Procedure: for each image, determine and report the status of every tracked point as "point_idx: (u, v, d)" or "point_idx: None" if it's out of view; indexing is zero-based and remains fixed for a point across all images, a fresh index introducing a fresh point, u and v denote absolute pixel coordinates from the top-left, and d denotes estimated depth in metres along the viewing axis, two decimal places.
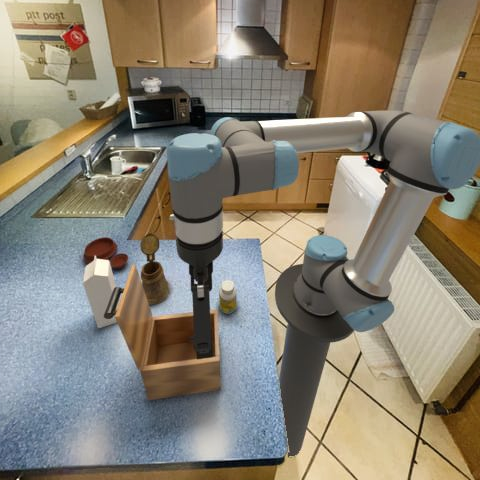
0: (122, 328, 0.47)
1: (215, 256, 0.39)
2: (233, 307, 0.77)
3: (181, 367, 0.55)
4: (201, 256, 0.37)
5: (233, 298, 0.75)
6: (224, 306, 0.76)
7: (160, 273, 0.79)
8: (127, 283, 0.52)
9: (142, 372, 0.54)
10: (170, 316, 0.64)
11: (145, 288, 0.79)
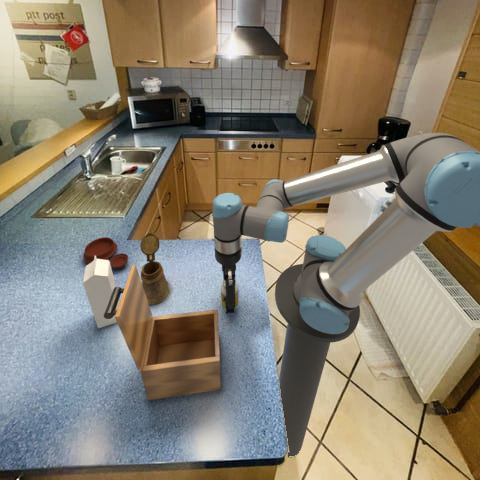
0: (122, 328, 0.47)
1: (237, 260, 0.68)
2: (235, 304, 0.76)
3: (181, 367, 0.55)
4: (230, 260, 0.67)
5: (235, 294, 0.75)
6: None
7: (160, 273, 0.79)
8: (127, 283, 0.52)
9: (142, 372, 0.54)
10: (170, 316, 0.64)
11: (145, 288, 0.79)
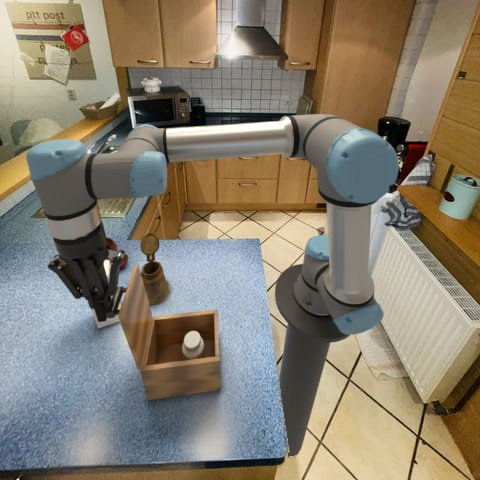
0: (124, 328, 0.47)
1: None
2: None
3: (181, 367, 0.55)
4: None
5: (199, 356, 0.60)
6: None
7: (160, 273, 0.79)
8: (130, 283, 0.52)
9: (142, 372, 0.54)
10: (170, 316, 0.64)
11: (145, 288, 0.79)
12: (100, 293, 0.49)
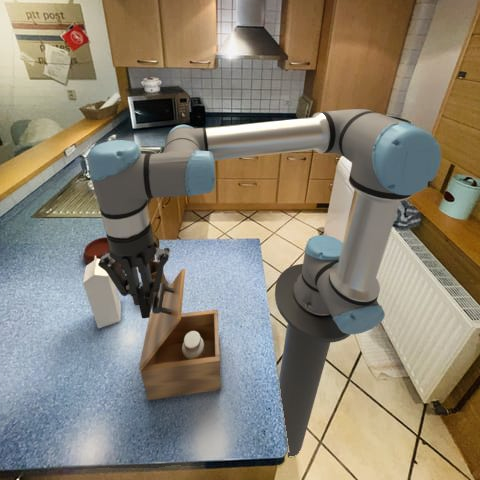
0: (171, 330, 0.49)
1: (110, 249, 0.44)
2: None
3: (181, 367, 0.55)
4: None
5: (199, 356, 0.60)
6: None
7: None
8: (181, 286, 0.54)
9: (142, 372, 0.54)
10: None
11: None
12: (146, 290, 0.50)
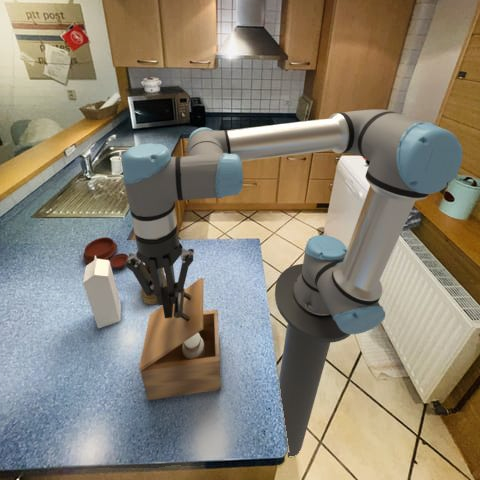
0: (189, 337, 0.51)
1: (139, 250, 0.45)
2: None
3: (181, 367, 0.55)
4: None
5: (199, 356, 0.60)
6: None
7: None
8: (202, 296, 0.56)
9: (142, 372, 0.54)
10: None
11: None
12: (170, 290, 0.51)
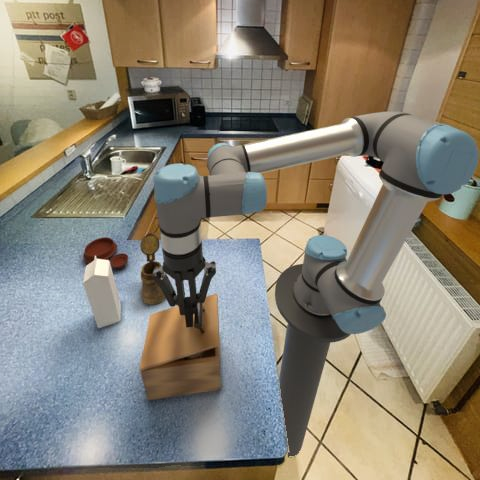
0: (204, 350, 0.53)
1: (166, 264, 0.47)
2: None
3: (181, 367, 0.55)
4: None
5: (199, 356, 0.60)
6: None
7: None
8: (217, 312, 0.59)
9: (142, 372, 0.54)
10: None
11: (145, 288, 0.79)
12: (192, 301, 0.53)
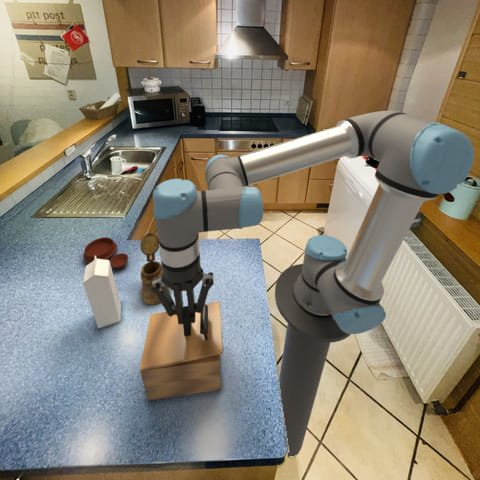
0: (206, 356, 0.54)
1: (165, 276, 0.48)
2: None
3: (181, 367, 0.55)
4: None
5: None
6: None
7: (160, 273, 0.79)
8: (220, 320, 0.61)
9: (142, 372, 0.54)
10: None
11: (145, 288, 0.79)
12: (191, 311, 0.55)
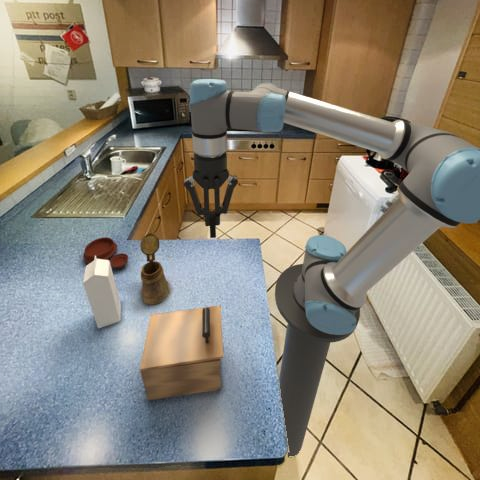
0: (207, 360, 0.55)
1: (197, 168, 0.55)
2: None
3: (181, 367, 0.55)
4: None
5: None
6: None
7: (160, 273, 0.79)
8: (221, 324, 0.61)
9: (142, 372, 0.54)
10: None
11: (145, 288, 0.79)
12: (217, 211, 0.61)
